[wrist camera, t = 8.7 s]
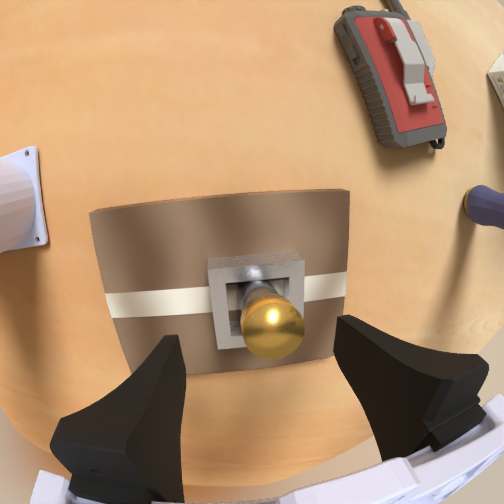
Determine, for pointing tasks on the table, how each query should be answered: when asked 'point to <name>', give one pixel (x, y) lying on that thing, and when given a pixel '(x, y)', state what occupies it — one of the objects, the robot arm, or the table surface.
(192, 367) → the board
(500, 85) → the tea box
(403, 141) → the walkie-talkie
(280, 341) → the gold-capped cylinder
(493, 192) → the rubber mallet
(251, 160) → the table surface
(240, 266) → the pilot socket
